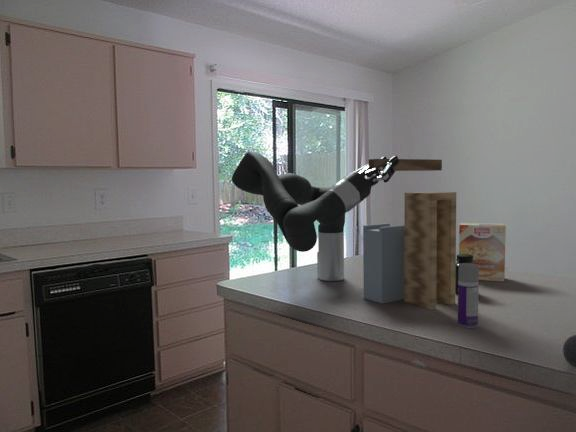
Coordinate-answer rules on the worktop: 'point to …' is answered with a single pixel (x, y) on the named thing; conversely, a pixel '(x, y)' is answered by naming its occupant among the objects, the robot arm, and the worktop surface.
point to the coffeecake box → (484, 248)
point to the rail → (410, 164)
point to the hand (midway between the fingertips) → (391, 159)
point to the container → (468, 295)
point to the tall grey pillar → (383, 262)
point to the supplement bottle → (460, 259)
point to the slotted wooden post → (430, 248)
